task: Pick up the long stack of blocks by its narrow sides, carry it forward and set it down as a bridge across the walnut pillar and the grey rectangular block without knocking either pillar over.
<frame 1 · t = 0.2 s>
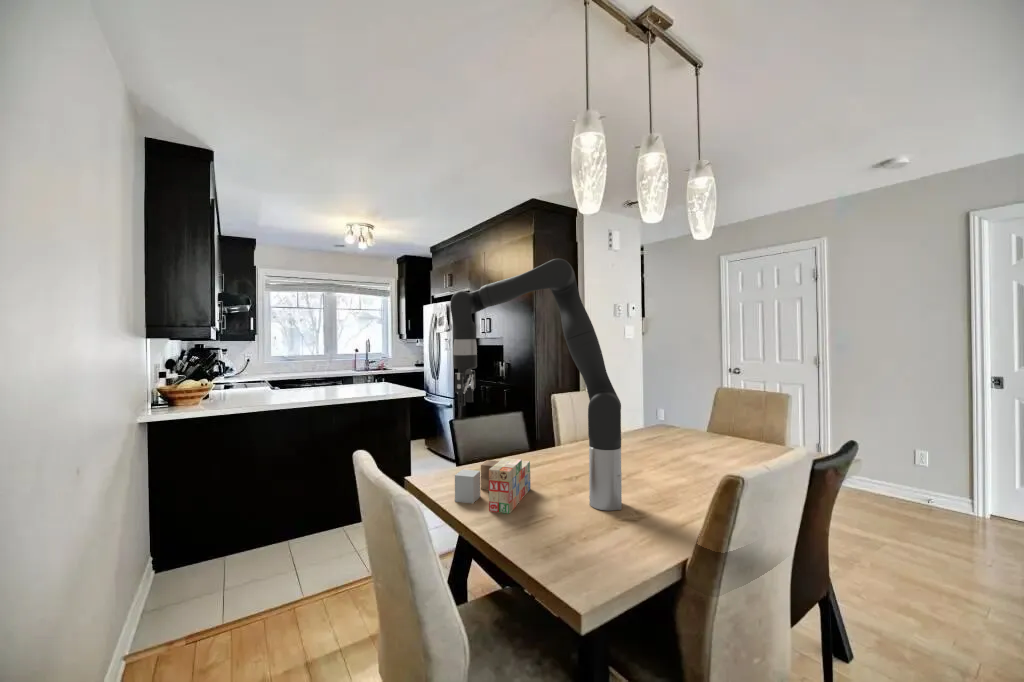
hand: (465, 403, 134), 28 cm above the table, tool pointing down, fingers open, 8 cm apart
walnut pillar: (492, 487, 139), on the table
stack of blocks: (511, 500, 128), on the table
grey rectangular block: (467, 499, 128), on the table
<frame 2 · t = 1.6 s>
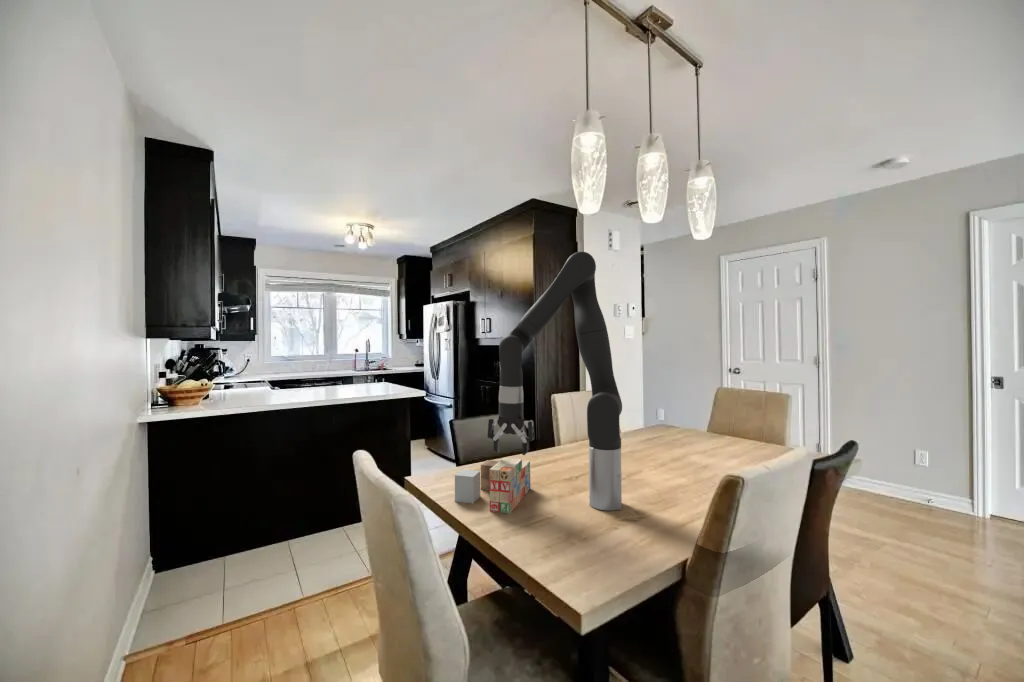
hand: (510, 453, 128), 14 cm above the table, tool pointing down, fingers open, 8 cm apart
nothing on the table moved.
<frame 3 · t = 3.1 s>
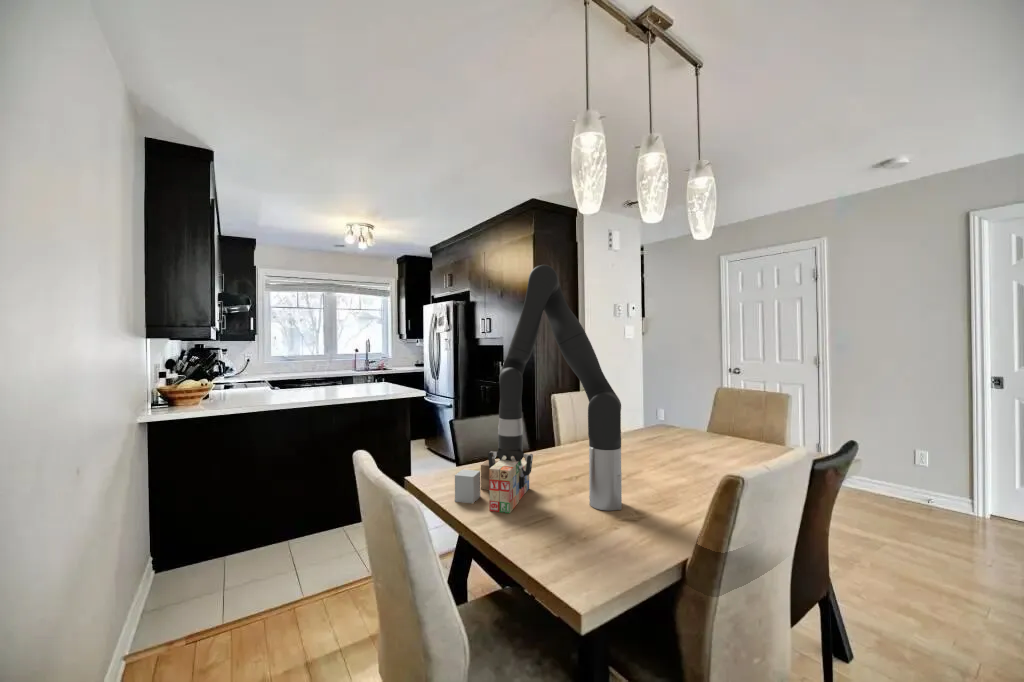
hand: (510, 487, 128), 4 cm above the table, tool pointing down, fingers closed on stack of blocks, 6 cm apart
stack of blocks: (510, 499, 128), on the table, touching gripper
everything else where it was.
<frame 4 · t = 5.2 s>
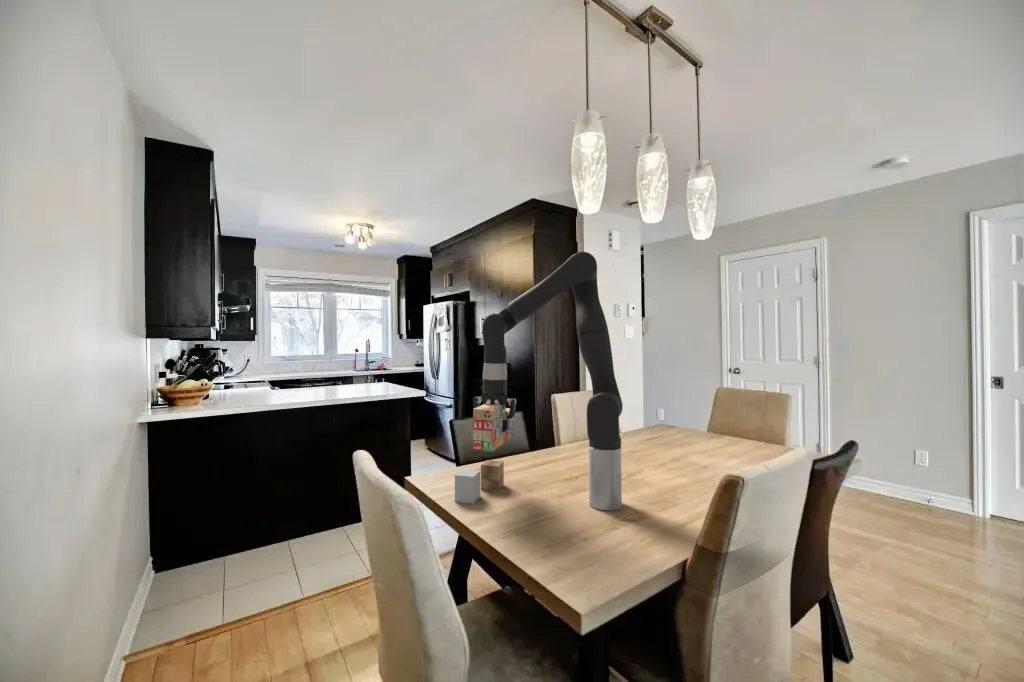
hand: (494, 430, 131), 20 cm above the table, tool pointing down, fingers closed on stack of blocks, 6 cm apart
stack of blocks: (494, 443, 131), point 16 cm above the table, touching gripper
everything else where it was.
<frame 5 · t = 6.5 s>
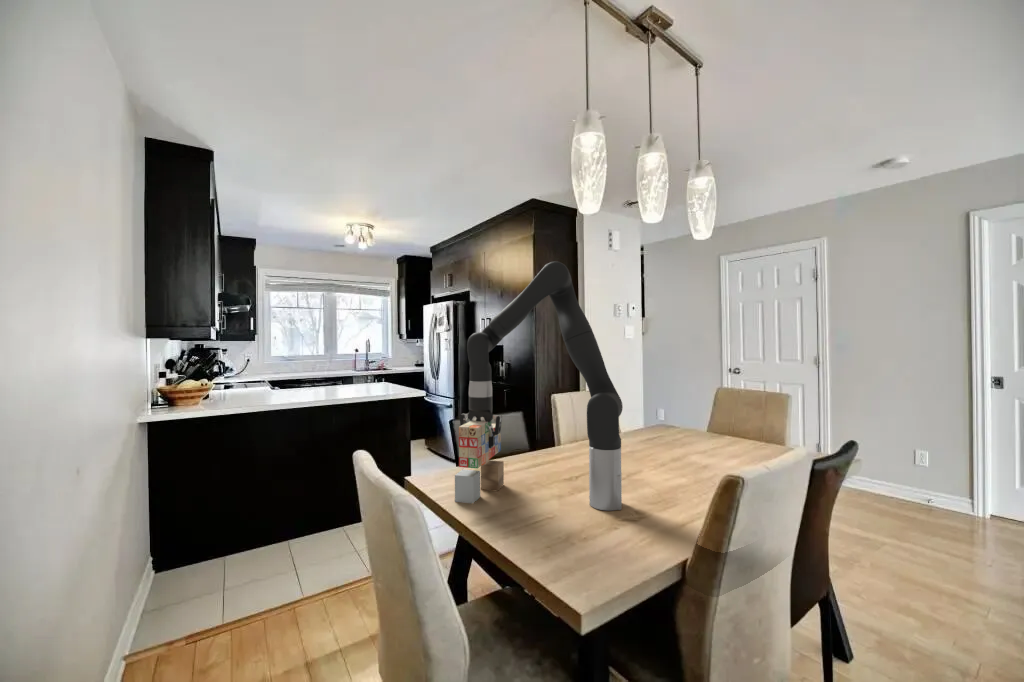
hand: (480, 446, 134), 15 cm above the table, tool pointing down, fingers closed on stack of blocks, 6 cm apart
stack of blocks: (481, 459, 134), point 11 cm above the table, touching gripper
everything else where it was.
when the fingers open (13 cm above the table, at t = 7.4 s): stack of blocks stays where it is, resting on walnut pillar.
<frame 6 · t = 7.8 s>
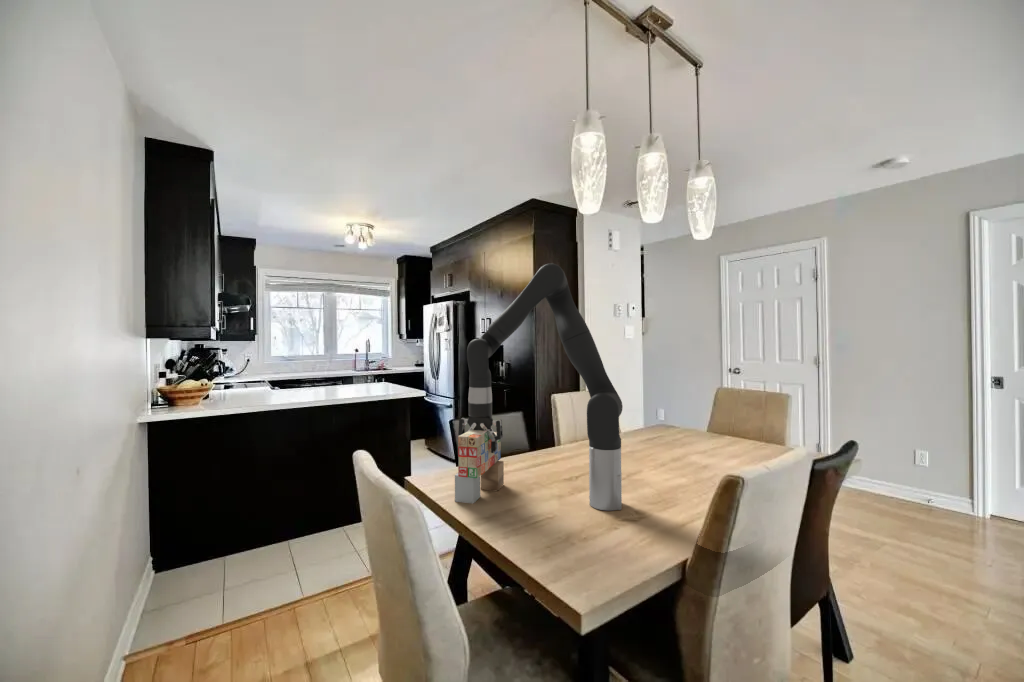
hand: (480, 451, 134), 13 cm above the table, tool pointing down, fingers open, 8 cm apart
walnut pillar: (492, 487, 139), on the table, touching stack of blocks
stack of blocks: (481, 468, 134), point 8 cm above the table, touching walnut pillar
everything else where it was.
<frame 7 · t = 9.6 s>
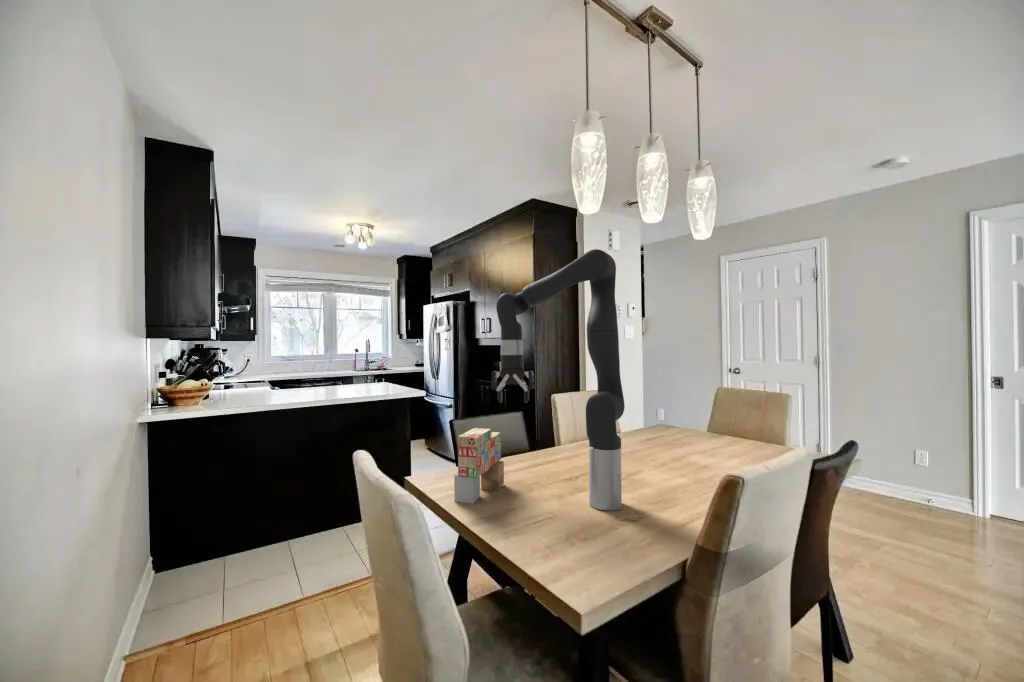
hand: (513, 402, 139), 28 cm above the table, tool pointing down, fingers open, 8 cm apart
stack of blocks: (481, 468, 134), point 8 cm above the table, touching grey rectangular block, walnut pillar
grey rectangular block: (467, 499, 128), on the table, touching stack of blocks
everything else where it was.
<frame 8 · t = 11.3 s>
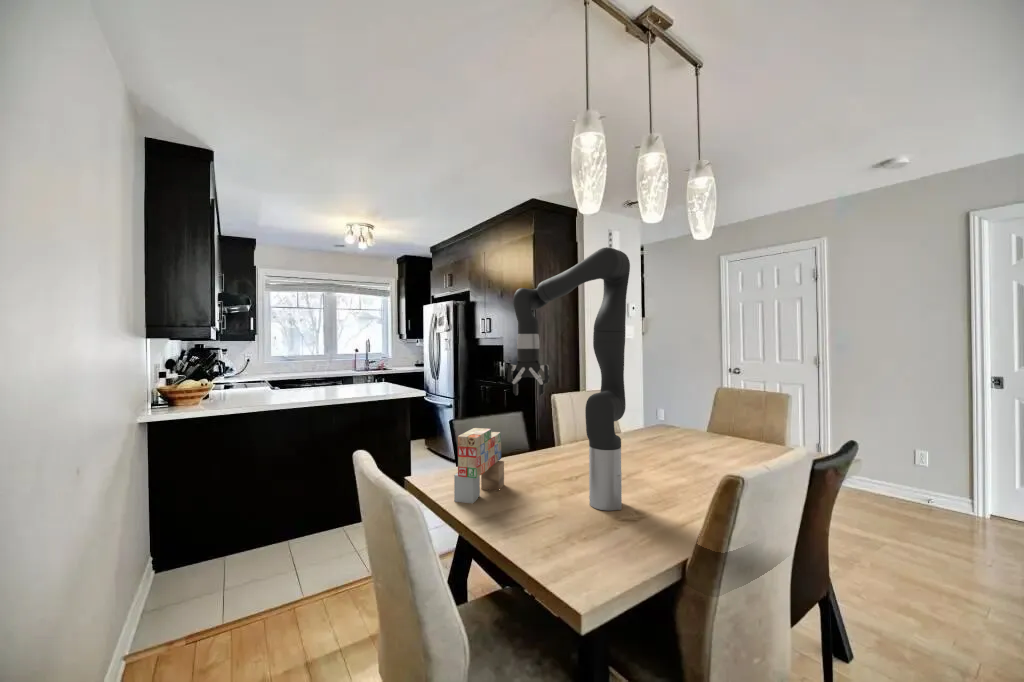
hand: (528, 395, 142), 30 cm above the table, tool pointing down, fingers open, 8 cm apart
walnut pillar: (492, 487, 139), on the table
stack of blocks: (481, 467, 134), point 8 cm above the table
grey rectangular block: (467, 498, 128), on the table
at the end: stack of blocks inside the target area (0.5 cm from its centre), point 7.7 cm above the table; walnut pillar tilted 0°; grey rectangular block tilted 0° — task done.
